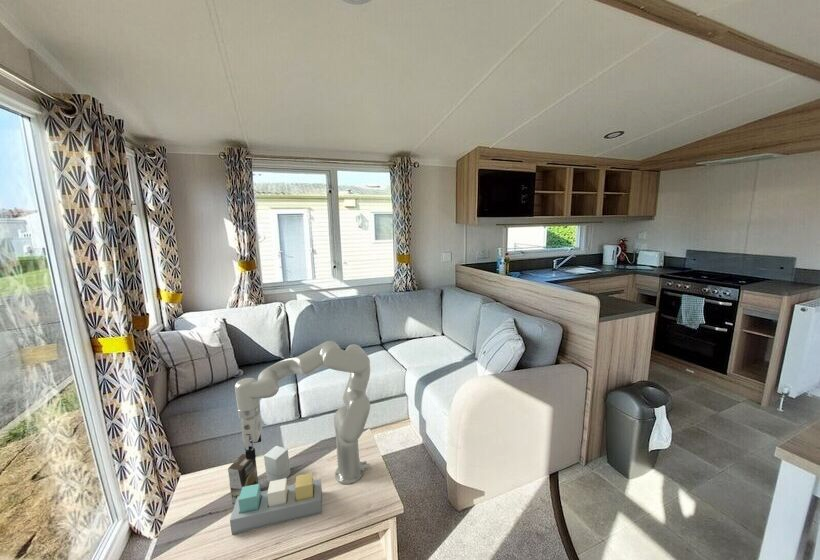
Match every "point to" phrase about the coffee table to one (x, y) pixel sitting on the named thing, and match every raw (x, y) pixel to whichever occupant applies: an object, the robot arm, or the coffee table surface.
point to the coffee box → (242, 475)
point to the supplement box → (277, 464)
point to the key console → (277, 510)
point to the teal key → (250, 498)
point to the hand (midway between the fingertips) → (254, 450)
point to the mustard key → (304, 487)
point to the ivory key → (277, 492)
